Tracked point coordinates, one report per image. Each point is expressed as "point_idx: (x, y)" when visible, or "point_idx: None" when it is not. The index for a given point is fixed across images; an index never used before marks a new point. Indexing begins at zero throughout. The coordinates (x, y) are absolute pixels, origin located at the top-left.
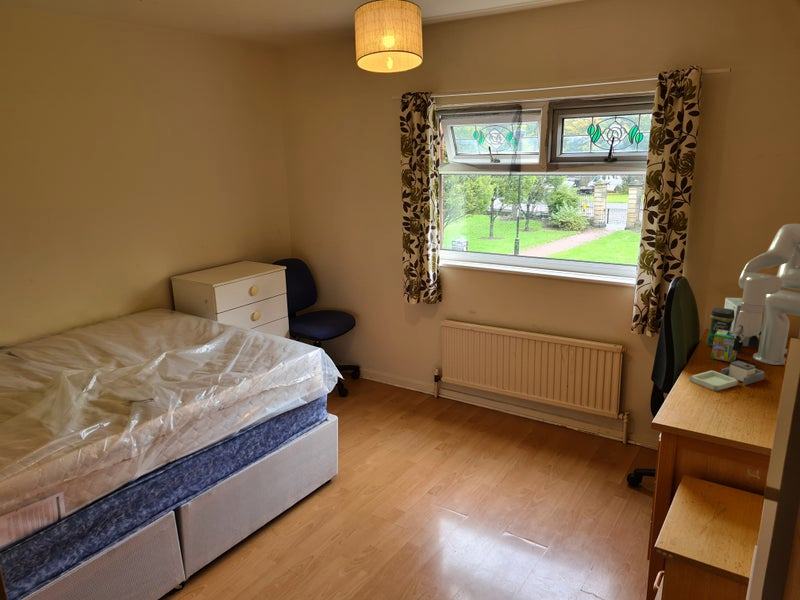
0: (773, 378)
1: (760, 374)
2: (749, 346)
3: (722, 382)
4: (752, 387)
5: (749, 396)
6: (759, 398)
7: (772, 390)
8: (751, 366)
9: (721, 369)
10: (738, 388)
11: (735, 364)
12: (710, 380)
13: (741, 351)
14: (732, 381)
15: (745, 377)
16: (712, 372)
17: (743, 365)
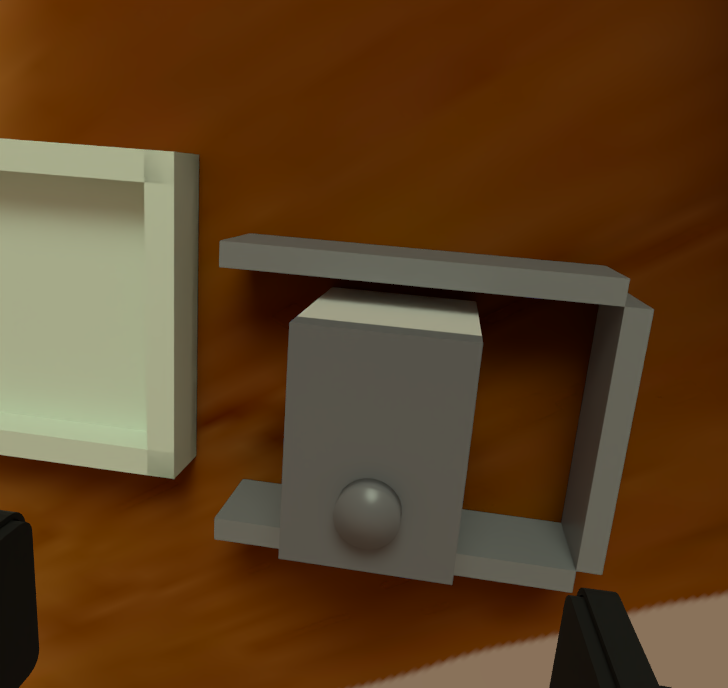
0: (682, 587)
1: (486, 574)
2: (564, 618)
3: (77, 362)
4: (256, 559)
5: (53, 619)
6: (89, 678)
7: (345, 684)
8: (396, 556)
9: (221, 245)
10: (122, 497)
11: (287, 394)
12: (13, 265)
13: (25, 669)
14: (81, 461)
15: (226, 529)
16: (150, 181)
17: (339, 479)
